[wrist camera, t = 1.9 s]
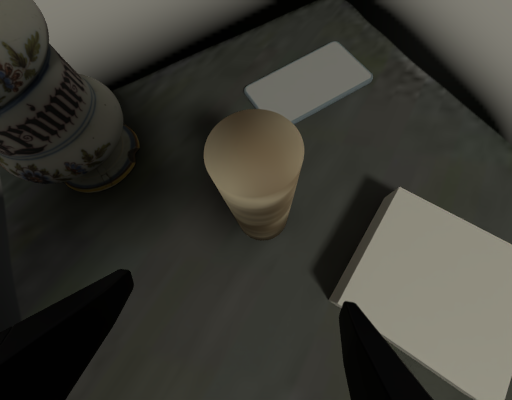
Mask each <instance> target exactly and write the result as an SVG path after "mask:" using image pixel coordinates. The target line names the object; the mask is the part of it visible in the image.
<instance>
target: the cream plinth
mask: <svg viewBox="0 0 512 400" xmlns="http://www.w3.org/2000/svg"><path fill="white" fill-rule="evenodd" d="M329 301H330V302H332V303H333V304H335V305H336V306H338V307H339V308H342V305H343V302H344V301H349V302H354V303H356V304H357V305H358V307H359V308H360V309H361V310H362V312H363V313H364V314H365V315H366V316H367V318H368V319H369V320H370V321H371V323H372V324H373V325H374V326H375V328H376V329H377V330H378V331H379V333H380V334H381V335H382V336H383V338H384V339H385V340H387V341H388V342H390V343H391V344H393V345H394V346H396V347H397V348H398V349H400V350H401V351H403V352H404V353H406V354H407V355H409V356H410V357H411V358H413V359H414V360H416V361H417V362H419V363H420V364H422V365H423V366H424V367H426V368H427V369H429V370H430V371H432V372H433V373H435V374H436V375H438V376H439V377H440V378H442V379H443V380H445V381H446V382H448V383H449V384H451V385H452V386H453V387H455V388H456V389H458V390H459V391H461V392H462V393H464V394H465V395H467V396H469V397H470V398H472V399H474V400H505V397H506V393H507V390H508V387H509V383H510V380H511V377H512V245H511V244H510V243H508V242H506V241H504V240H502V239H500V238H498V237H496V236H494V235H492V234H490V233H488V232H486V231H484V230H482V229H480V228H478V227H477V226H475V225H473V224H471V223H469V222H467V221H465V220H463V219H461V218H459V217H457V216H455V215H453V214H451V213H449V212H447V211H445V210H444V209H442V208H440V207H438V206H436V205H434V204H432V203H430V202H428V201H426V200H424V199H422V198H420V197H418V196H416V195H414V194H412V193H411V192H409V191H407V190H405V189H403V188H401V187H399V188H397V189H396V190H394V191H393V192H392V193H390V194H389V195H387V196H386V197H385V198H384V199H383V201H382V203H381V205H380V207H379V208H378V210H377V212H376V214H375V216H374V218H373V219H372V221H371V223H370V225H369V227H368V229H367V230H366V232H365V234H364V236H363V238H362V240H361V241H360V243H359V245H358V247H357V249H356V251H355V252H354V254H353V256H352V258H351V260H350V262H349V264H348V265H347V267H346V269H345V271H344V273H343V275H342V276H341V278H340V280H339V282H338V284H337V286H336V287H335V289H334V291H333V293H332V295H331V297H330V298H329Z"/></svg>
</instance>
